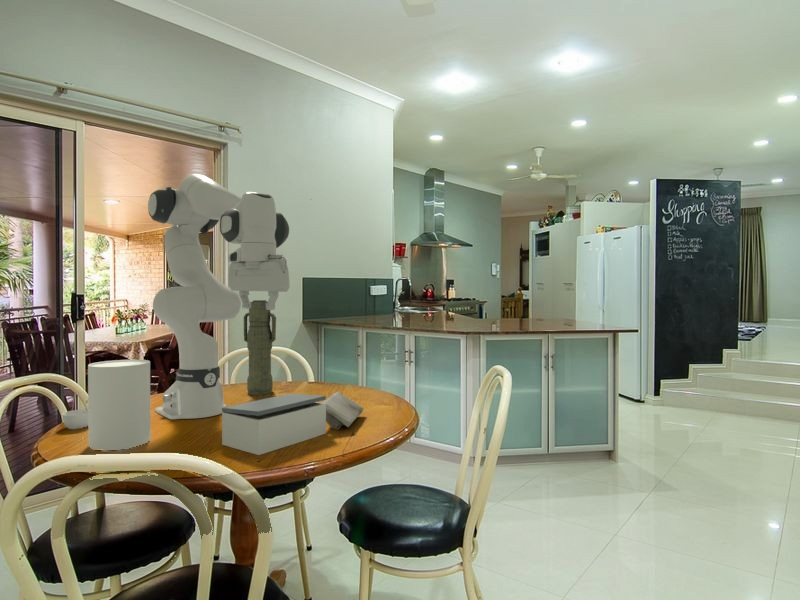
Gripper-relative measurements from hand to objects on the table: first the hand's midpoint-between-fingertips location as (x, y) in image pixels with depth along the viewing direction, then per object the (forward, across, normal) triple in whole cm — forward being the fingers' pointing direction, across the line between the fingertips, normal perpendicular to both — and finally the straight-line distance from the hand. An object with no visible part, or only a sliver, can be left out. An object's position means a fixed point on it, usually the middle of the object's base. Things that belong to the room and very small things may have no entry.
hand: (258, 309), depth 129 cm
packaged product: (+32, -12, -24) cm, 42 cm away
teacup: (+34, +48, +23) cm, 63 cm away
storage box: (+33, -5, -2) cm, 34 cm away
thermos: (+34, +43, -35) cm, 65 cm away
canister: (+34, +24, +23) cm, 48 cm away
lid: (+25, +2, -2) cm, 26 cm away
